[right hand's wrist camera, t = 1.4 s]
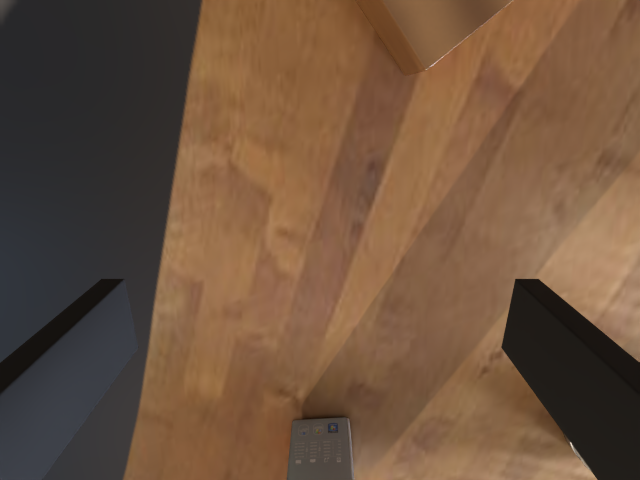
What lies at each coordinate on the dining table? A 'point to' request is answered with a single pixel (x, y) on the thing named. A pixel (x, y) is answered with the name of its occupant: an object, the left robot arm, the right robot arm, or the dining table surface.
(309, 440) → the hard drive box
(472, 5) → the thick board
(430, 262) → the dining table surface
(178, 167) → the dining table surface
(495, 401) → the dining table surface
